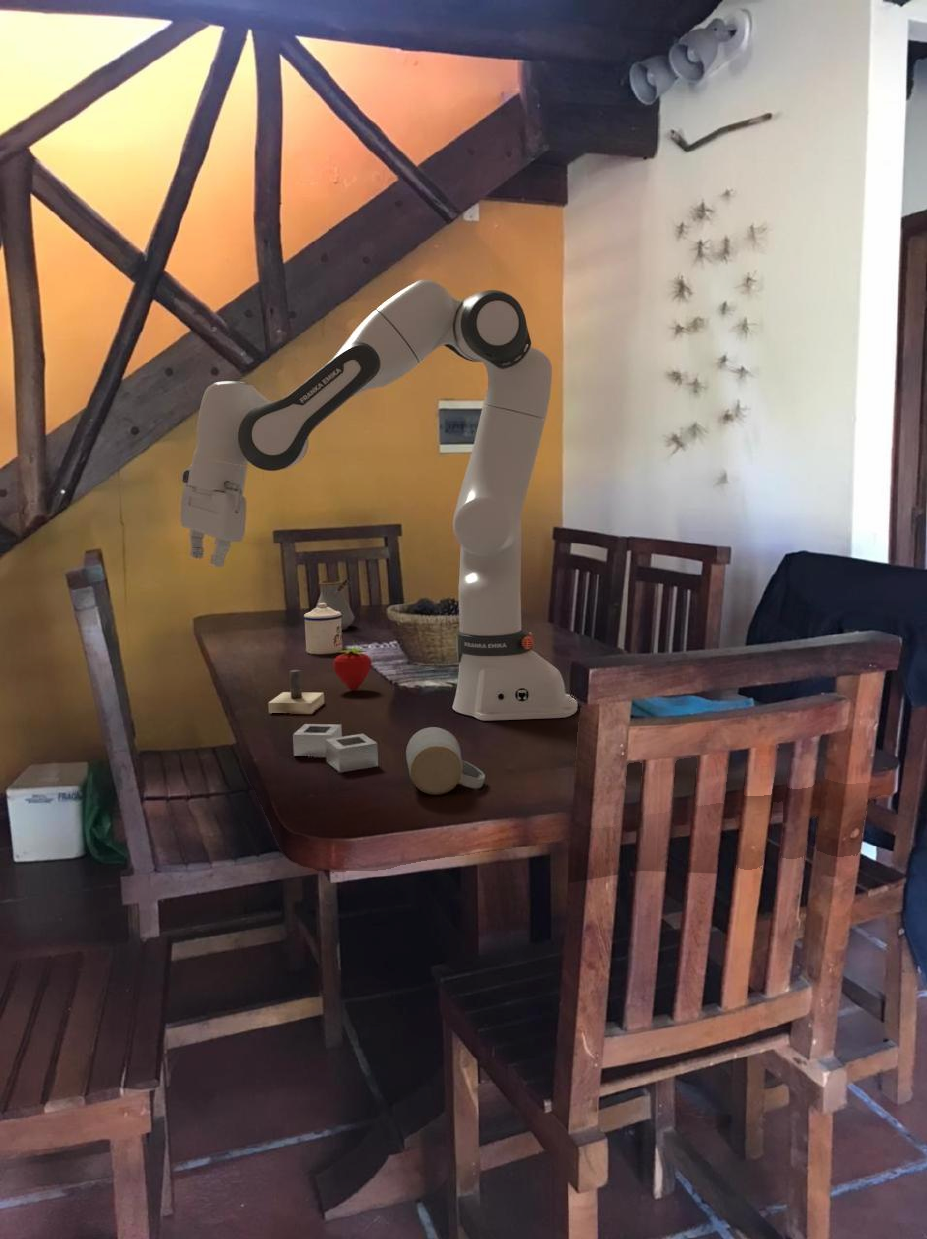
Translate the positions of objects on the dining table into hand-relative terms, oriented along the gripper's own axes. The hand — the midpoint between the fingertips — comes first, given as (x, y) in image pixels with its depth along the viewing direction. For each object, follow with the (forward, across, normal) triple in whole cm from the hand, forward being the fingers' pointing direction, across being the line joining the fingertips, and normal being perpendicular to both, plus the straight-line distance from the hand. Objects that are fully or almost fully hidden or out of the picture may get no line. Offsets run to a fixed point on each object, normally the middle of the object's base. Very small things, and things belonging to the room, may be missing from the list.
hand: (206, 561), depth 162 cm
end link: (+25, -26, -12) cm, 38 cm away
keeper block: (+25, +1, -22) cm, 33 cm away
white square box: (+24, -35, -13) cm, 44 cm away
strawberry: (+23, +6, -36) cm, 44 cm away
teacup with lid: (+24, +48, -52) cm, 75 cm away
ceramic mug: (+22, -52, -18) cm, 59 cm away
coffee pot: (+23, +70, -67) cm, 99 cm away
